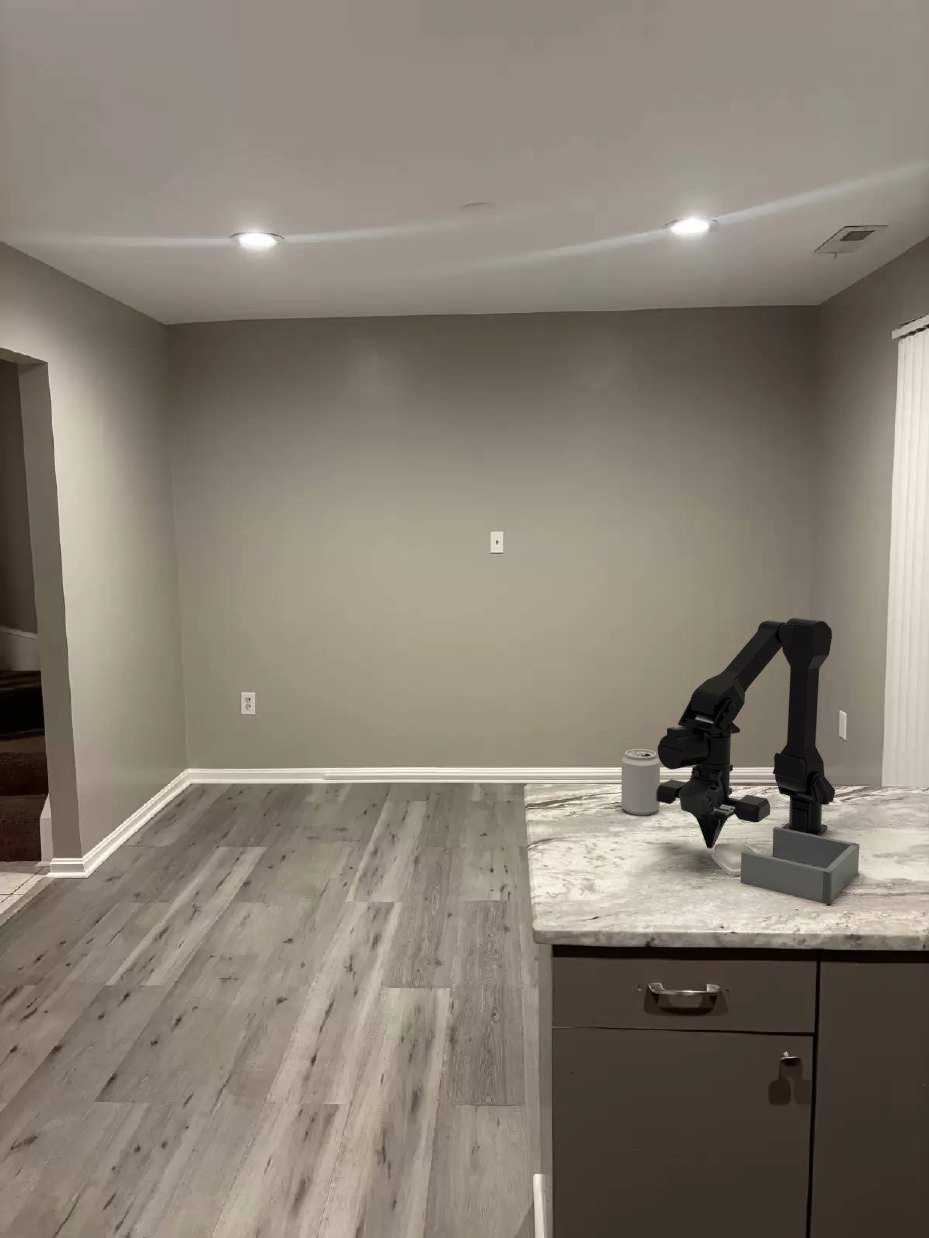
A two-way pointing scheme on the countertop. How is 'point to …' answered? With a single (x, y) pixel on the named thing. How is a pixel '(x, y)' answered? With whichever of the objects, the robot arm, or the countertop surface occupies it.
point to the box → (803, 865)
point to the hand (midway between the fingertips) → (710, 847)
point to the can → (640, 781)
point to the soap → (730, 856)
